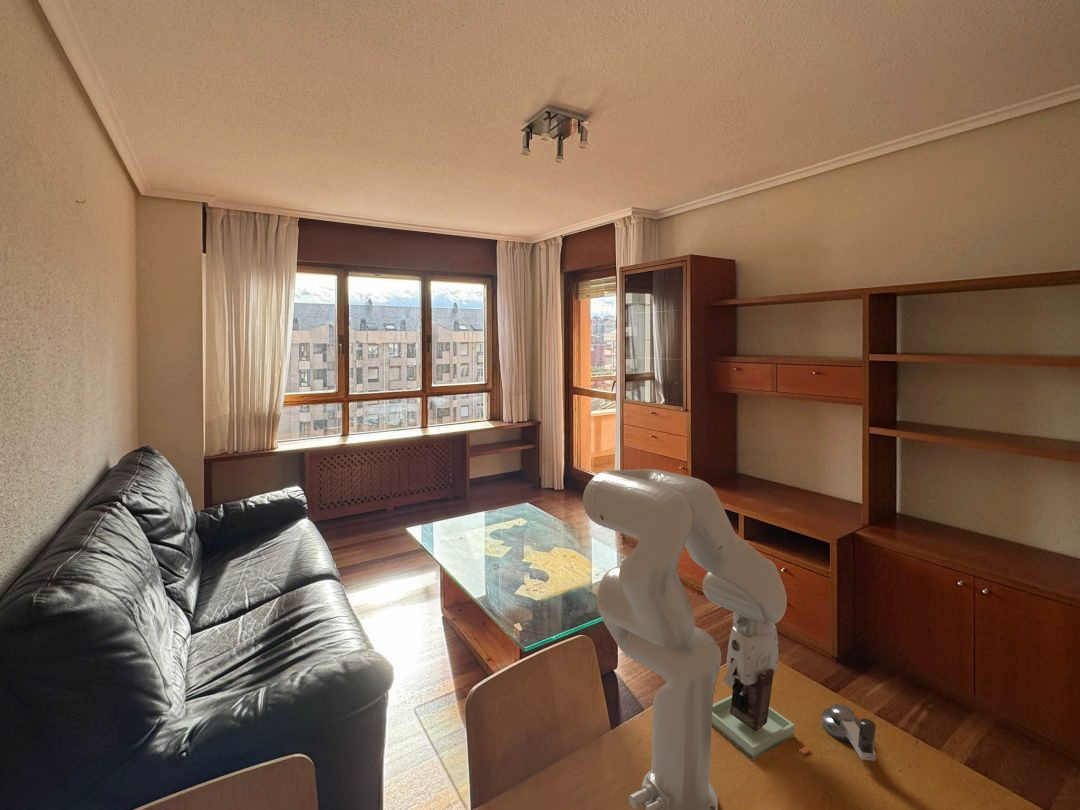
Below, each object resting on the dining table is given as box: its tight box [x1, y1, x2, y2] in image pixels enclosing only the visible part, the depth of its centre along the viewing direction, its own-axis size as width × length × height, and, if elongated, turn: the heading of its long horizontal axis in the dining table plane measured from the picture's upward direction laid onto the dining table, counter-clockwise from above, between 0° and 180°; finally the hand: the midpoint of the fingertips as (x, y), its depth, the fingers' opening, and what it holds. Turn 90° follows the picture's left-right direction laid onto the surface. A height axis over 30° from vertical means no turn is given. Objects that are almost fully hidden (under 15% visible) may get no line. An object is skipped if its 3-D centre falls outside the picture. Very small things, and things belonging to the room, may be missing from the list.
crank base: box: [798, 707, 861, 756], centre depth 102 cm, size 16×7×2 cm, turn 119°
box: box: [730, 669, 775, 732], centre depth 104 cm, size 6×4×12 cm
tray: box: [712, 694, 795, 761], centre depth 105 cm, size 12×12×2 cm
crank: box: [830, 703, 877, 762], centre depth 100 cm, size 12×4×6 cm, turn 174°
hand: (748, 704), depth 105 cm, fingers closed on box, 4 cm apart
